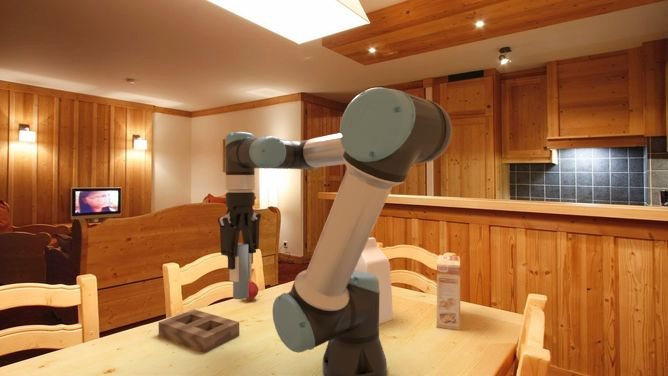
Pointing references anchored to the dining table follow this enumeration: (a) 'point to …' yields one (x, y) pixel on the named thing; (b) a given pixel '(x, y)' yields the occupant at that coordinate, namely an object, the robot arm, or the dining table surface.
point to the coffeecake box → (448, 292)
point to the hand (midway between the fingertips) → (240, 278)
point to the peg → (242, 273)
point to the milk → (378, 276)
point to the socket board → (199, 330)
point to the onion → (252, 290)
